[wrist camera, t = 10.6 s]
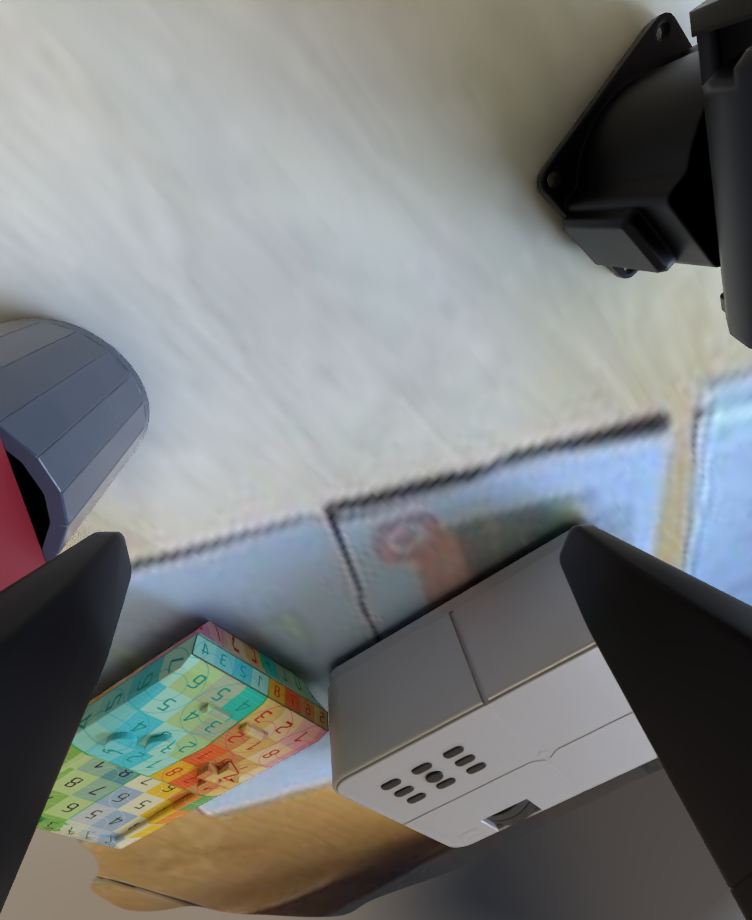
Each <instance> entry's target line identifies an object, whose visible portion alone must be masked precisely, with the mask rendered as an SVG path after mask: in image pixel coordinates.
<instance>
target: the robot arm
mask: <svg viewBox="0 0 752 920" xmlns="http://www.w3.org/2000/svg"><path fill="white" fill-rule="evenodd" d="M689 14H690V23H691V33H692V37H695V36H697V43H698V44H697V45H695V46H693V47H692V46H691V44H690V42H689V41H688V39H687V37H686V35H685V34H684V32H683V30H682V29H681V27H680V25H679V24H678V22H677V20H676V19H675V17H674V16H673V15H672V14H671V13H664V14H661V15H659V16H658V17H656V18H654V19H653V20H652V21H651V22H650V23H649V24H648V25H647V26H646V27H645V29H644V30H643V31H642V33H641V34H640V36H639V37H638V38H637V40H636V41H635V42H634V44H633V45H632V47H631V48H630V49H629V51H628V52H627V53H626V55H625V56H624V58H623V59H622V60H621V62H620V63H619V64H618V66H617V67H616V68H615V70H614V71H613V73H612V74H611V75H610V77H609V78H608V79H607V81H606V82H605V84H604V85H603V86H602V88H601V89H600V90H599V92H598V93H597V95H596V96H595V97H594V99H593V100H592V101H591V103H590V104H589V105H588V107H587V108H586V110H585V111H584V112H583V114H582V115H581V116H580V118H579V119H578V121H577V122H576V123H575V125H574V126H573V127H572V129H571V130H570V132H569V133H568V134H567V136H566V137H565V138H564V140H563V141H562V142H561V144H560V145H559V147H558V148H557V149H556V151H555V152H554V153H553V155H552V156H551V158H550V159H549V160H548V162H547V163H546V164H545V166H544V167H543V169H542V170H541V171H540V173H539V175H538V177H537V188H538V190H539V192H540V193H541V194H542V195H543V196H544V197H545V199H546V200H547V201H548V202H549V203H550V204H551V205H552V206H553V207H554V208H555V210H556V211H557V212H558V213H559V214H560V215H561V216H562V217H563V218H564V220H563V229H564V230H565V231H566V232H567V233H568V235H569V236H570V237H571V238H572V239H573V240H574V241H575V242H576V243H577V244H578V245H579V246H580V247H581V249H582V250H583V251H584V252H585V253H586V254H587V255H588V256H589V257H590V258H591V259H592V260H593V262H594V263H595V264H598V265H605V266H607V267H608V268H609V269H610V270H611V271H612V272H613V273H614V274H615V275H616V276H617V277H621V278H629V277H632V276H633V275H634V274H635V273H636V272H637V271H638V270H642V271H649V272H656V273H658V272H664V271H667V270H668V269H669V268H670V267H671V266H672V265H673V264H674V263H681V264H691V265H700V266H710V267H720V266H721V274H722V283H723V293H722V294H721V295H720V298H721V307H722V310H723V311H724V312H725V313H726V320H727V324H728V328H729V332H730V334H731V335H732V336H733V337H735V338H736V339H737V340H739V341H740V342H741V343H743V344H744V345H745V346H747V347H748V348H751V349H752V0H706V1H705V2H703V3H702V4H701V5H699V6H698V7H696V8H695V9H693V10H692V11H691V12H689ZM658 27H659V28H661V31H662V35H661V39H660V41H659V40H657V37H656V33H657V29H658ZM549 174H553V176H554V182H553V184H552V185H551V186H549V185H548V183H547V178H548V176H549ZM624 268H627V269H626V270H624ZM559 561H560V565H561V568H562V570H563V572H564V575H565V577H566V579H567V582H568V584H569V586H570V589H571V591H572V593H573V596H574V598H575V600H576V603H577V605H578V607H579V610H580V612H581V614H582V617H583V619H584V621H585V623H586V625H587V628H588V630H589V631H590V633H591V635H592V637H593V639H594V641H595V643H596V645H597V647H598V648H599V650H600V652H601V654H602V656H603V658H604V659H605V661H606V663H607V665H608V667H609V669H610V670H611V672H612V674H613V676H614V678H615V680H616V681H617V683H618V685H619V687H620V689H621V691H622V692H623V694H624V696H625V698H626V700H627V702H628V703H629V705H630V707H631V709H632V711H633V713H634V714H635V716H636V718H637V720H638V722H639V724H640V725H641V727H642V729H643V731H644V733H645V735H646V736H647V738H648V740H649V742H650V744H651V746H652V747H653V749H654V751H655V753H656V755H657V757H658V758H659V760H660V762H661V764H662V766H663V768H664V769H665V771H666V773H667V775H668V777H669V779H670V780H671V782H672V784H673V786H674V787H675V789H676V791H677V793H678V795H679V797H680V799H681V801H682V802H683V804H684V806H685V808H686V810H687V812H688V813H689V815H690V817H691V819H692V821H693V823H694V825H695V826H696V828H697V830H698V832H699V833H700V835H701V837H702V839H703V841H704V843H705V845H706V846H707V848H708V850H709V852H710V854H711V856H712V858H713V859H714V861H715V863H716V865H717V867H718V869H719V870H720V872H721V874H722V876H723V878H724V880H725V881H726V883H727V885H728V886H729V887H730V888H731V893H732V895H733V897H734V899H735V900H736V902H737V904H738V906H739V908H740V910H741V911H742V913H743V915H744V917H745V919H746V920H752V606H750V605H748V604H746V603H744V602H742V601H740V600H738V599H736V598H734V597H732V596H730V595H728V594H726V593H725V592H723V591H721V590H719V589H717V588H715V587H713V586H711V585H709V584H707V583H705V582H703V581H701V580H699V579H697V578H695V577H693V576H691V575H689V574H687V573H685V572H683V571H681V570H679V569H677V568H675V567H673V566H671V565H669V564H667V563H665V562H664V561H662V560H660V559H658V558H656V557H654V556H652V555H650V554H648V553H646V552H644V551H642V550H640V549H638V548H636V547H634V546H632V545H630V544H628V543H626V542H624V541H622V540H620V539H618V538H616V537H614V536H612V535H610V534H608V533H606V532H605V531H603V530H601V529H599V528H597V527H595V526H592V525H575V526H573V527H572V528H571V529H570V530H569V532H568V535H567V537H566V540H565V542H564V544H563V547H562V549H561V552H560V556H559ZM130 578H131V563H130V559H129V555H128V551H127V546H126V542H125V538H124V536H123V535H122V534H121V533H120V532H96V533H94V534H92V535H90V536H88V537H87V538H85V539H84V540H82V541H80V542H79V543H77V544H76V545H74V546H72V547H71V548H69V549H67V550H66V551H64V552H63V553H61V554H59V555H58V556H56V557H55V558H53V559H51V560H50V561H48V562H47V563H45V564H43V565H42V566H40V567H39V568H37V569H35V570H34V571H32V572H30V573H29V574H27V575H26V576H24V577H22V578H21V579H19V580H18V581H16V582H14V583H13V584H11V585H10V586H8V587H6V588H5V589H3V590H2V591H0V912H1V910H2V908H3V906H4V903H5V901H6V899H7V896H8V894H9V891H10V889H11V887H12V884H13V882H14V879H15V877H16V875H17V872H18V870H19V867H20V865H21V863H22V860H23V858H24V855H25V853H26V851H27V849H28V846H29V844H30V841H31V839H32V837H33V834H34V832H35V829H36V827H37V825H38V822H39V820H40V818H41V815H42V813H43V811H44V808H45V806H46V803H47V801H48V799H49V796H50V794H51V791H52V789H53V787H54V784H55V782H56V780H57V777H58V775H59V772H60V770H61V768H62V765H63V763H64V761H65V758H66V756H67V753H68V751H69V749H70V746H71V744H72V741H73V739H74V737H75V734H76V732H77V730H78V727H79V725H80V722H81V720H82V718H83V715H84V713H85V711H86V708H87V706H88V703H89V701H90V699H91V696H92V694H93V692H94V689H95V687H96V684H97V682H98V680H99V677H100V675H101V672H102V670H103V667H104V665H105V662H106V660H107V657H108V653H109V650H110V647H111V644H112V641H113V637H114V634H115V630H116V627H117V623H118V620H119V617H120V613H121V610H122V606H123V603H124V599H125V596H126V593H127V589H128V586H129V582H130Z"/></svg>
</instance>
